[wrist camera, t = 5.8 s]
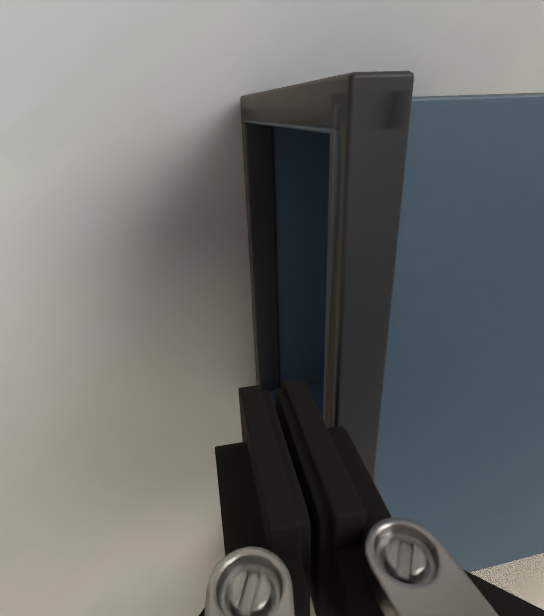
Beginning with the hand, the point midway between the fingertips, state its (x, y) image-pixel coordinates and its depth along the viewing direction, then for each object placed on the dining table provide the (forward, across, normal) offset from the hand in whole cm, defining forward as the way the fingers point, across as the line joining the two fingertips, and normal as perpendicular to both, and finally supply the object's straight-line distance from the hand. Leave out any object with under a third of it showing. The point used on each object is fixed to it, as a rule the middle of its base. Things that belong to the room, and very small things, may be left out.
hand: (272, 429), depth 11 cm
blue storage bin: (+12, -6, 0) cm, 13 cm away
